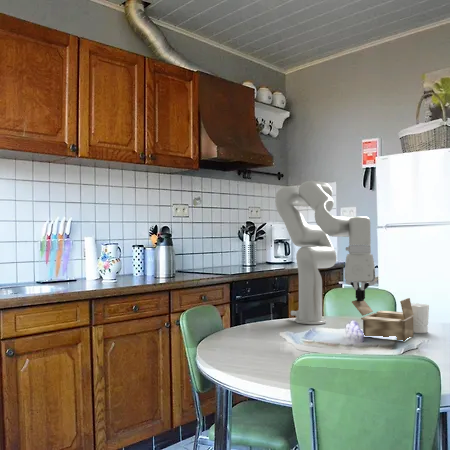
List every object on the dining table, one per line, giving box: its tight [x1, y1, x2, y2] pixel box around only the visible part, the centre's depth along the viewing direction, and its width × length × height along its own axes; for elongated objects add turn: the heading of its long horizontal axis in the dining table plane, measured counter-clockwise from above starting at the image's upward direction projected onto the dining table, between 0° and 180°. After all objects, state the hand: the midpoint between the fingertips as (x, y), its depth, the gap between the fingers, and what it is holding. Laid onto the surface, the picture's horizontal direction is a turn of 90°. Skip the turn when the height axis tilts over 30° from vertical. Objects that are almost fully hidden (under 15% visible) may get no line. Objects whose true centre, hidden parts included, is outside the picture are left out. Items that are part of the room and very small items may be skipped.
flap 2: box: [399, 297, 413, 319], centre depth 163 cm, size 1×11×6 cm, turn 146°
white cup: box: [411, 302, 430, 334], centre depth 177 cm, size 8×8×10 cm
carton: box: [360, 310, 415, 341], centre depth 166 cm, size 14×22×8 cm, turn 145°
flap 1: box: [351, 299, 374, 317], centre depth 172 cm, size 1×11×6 cm
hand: (360, 300), depth 172 cm, fingers closed
